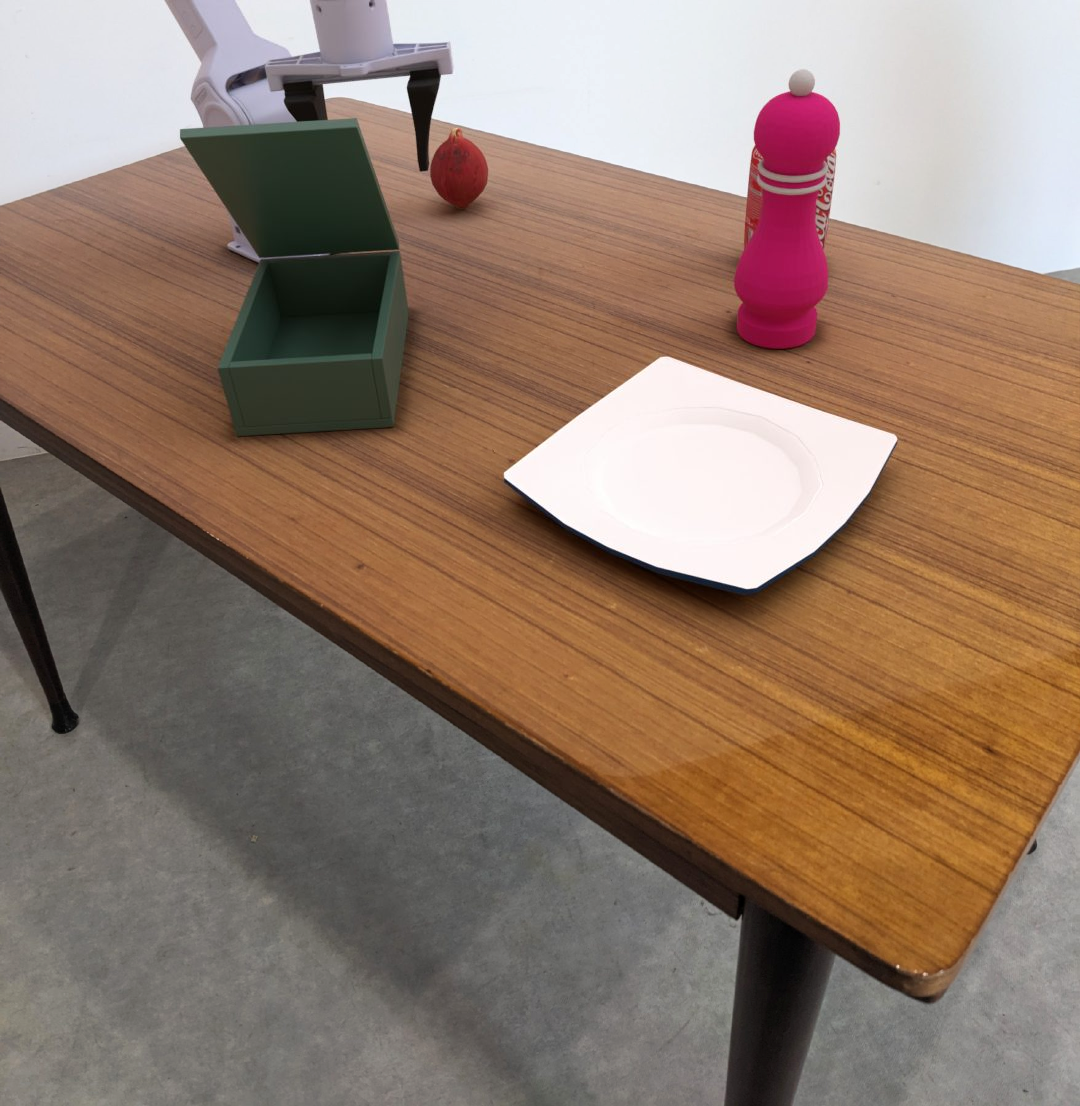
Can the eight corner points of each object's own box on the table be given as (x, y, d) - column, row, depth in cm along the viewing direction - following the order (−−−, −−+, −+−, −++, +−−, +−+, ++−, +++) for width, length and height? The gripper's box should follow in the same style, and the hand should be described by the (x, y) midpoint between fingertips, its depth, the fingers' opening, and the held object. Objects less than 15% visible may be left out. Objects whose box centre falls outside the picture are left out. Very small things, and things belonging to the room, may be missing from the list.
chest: (393, 427, 77) (382, 357, 73) (236, 436, 77) (216, 367, 73) (409, 314, 90) (399, 250, 87) (275, 322, 91) (260, 258, 87)
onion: (489, 218, 105) (482, 137, 100) (432, 221, 105) (422, 140, 100) (492, 196, 109) (486, 117, 104) (437, 198, 110) (428, 120, 105)
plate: (659, 377, 81) (660, 346, 79) (912, 467, 70) (920, 434, 68) (482, 510, 69) (479, 477, 67) (754, 642, 59) (759, 607, 57)
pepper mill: (821, 355, 82) (858, 86, 69) (727, 350, 83) (747, 85, 70) (821, 311, 87) (856, 54, 74) (733, 307, 88) (752, 54, 75)
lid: (357, 127, 68) (354, 63, 69) (179, 138, 68) (179, 74, 69) (399, 249, 86) (397, 198, 87) (259, 258, 86) (258, 207, 87)
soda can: (817, 249, 96) (835, 114, 88) (826, 285, 91) (845, 144, 83) (739, 250, 97) (750, 116, 89) (743, 285, 91) (754, 145, 84)
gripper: (241, 12, 76) (285, 196, 85) (439, -8, 76) (463, 179, 84) (259, -8, 82) (298, 167, 90) (443, -27, 81) (465, 151, 90)
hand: (379, 171), depth 88 cm, fingers open, 7 cm apart
